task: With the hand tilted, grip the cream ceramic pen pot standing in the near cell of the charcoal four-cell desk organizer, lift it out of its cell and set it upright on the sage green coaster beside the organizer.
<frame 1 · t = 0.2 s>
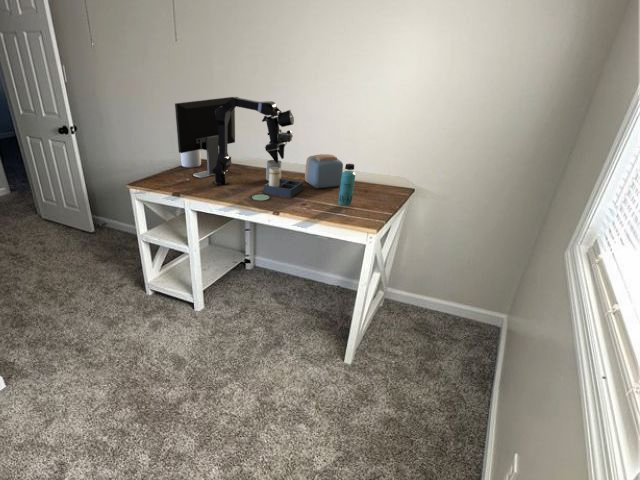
hand: (280, 160, 214), 15 cm above the table, tool pointing down, fingers open, 9 cm apart
computer monitor: (210, 173, 252), on the table
cup: (273, 179, 240), on the table
organizer: (283, 191, 220), on the table
blue rounded cube: (322, 184, 231), on the table
pen pot: (273, 191, 219), resting on organizer
coaster: (260, 198, 212), on the table
cylinder vase: (191, 165, 267), on the table
beverage bottle: (344, 206, 201), on the table
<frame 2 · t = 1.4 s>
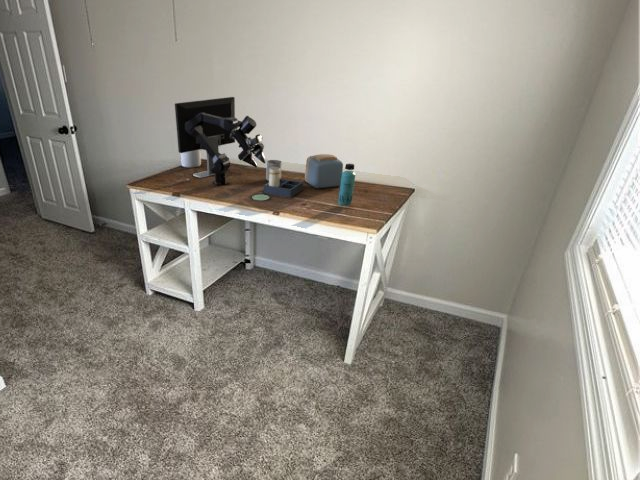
hand: (261, 164, 216), 13 cm above the table, tool tilted 45°, fingers open, 9 cm apart
nothing on the table moved.
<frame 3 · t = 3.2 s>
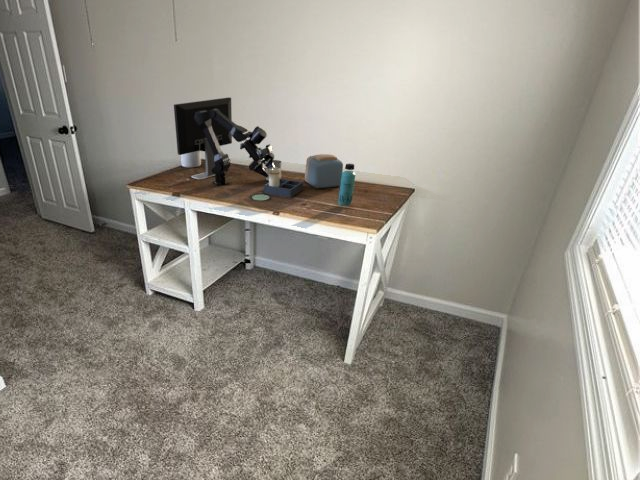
hand: (271, 174, 215), 9 cm above the table, tool tilted 45°, fingers open, 9 cm apart
computer monitor: (208, 174, 249), on the table
everything else where it was.
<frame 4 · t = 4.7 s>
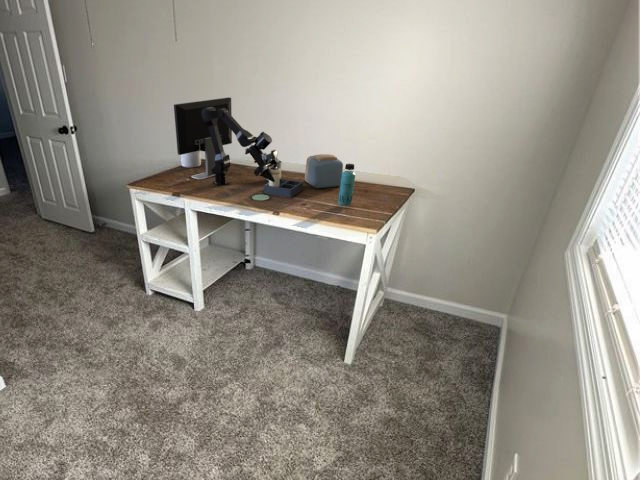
hand: (276, 180, 215), 7 cm above the table, tool tilted 45°, fingers closed on pen pot, 5 cm apart
pen pot: (273, 191, 219), resting on organizer, touching gripper
everything else where it was.
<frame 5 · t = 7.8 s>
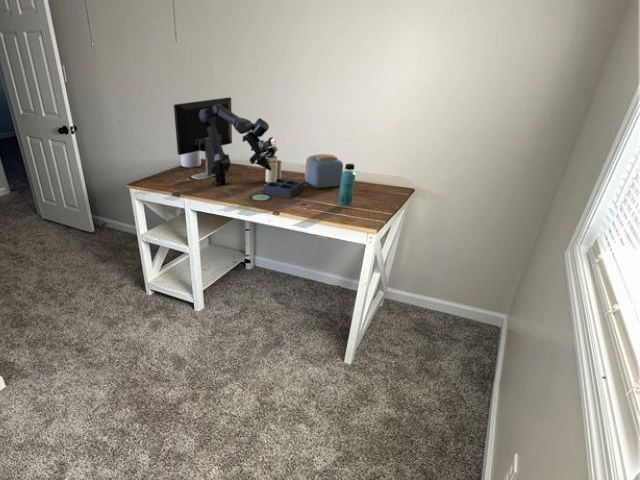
hand: (273, 168, 209), 13 cm above the table, tool tilted 45°, fingers closed on pen pot, 5 cm apart
pen pot: (270, 180, 213), point 7 cm above the table, touching gripper
everything else where it was.
when the fingers open (7 cm above the table, at t = 11.4 s): pen pot stays where it is, resting on coaster.
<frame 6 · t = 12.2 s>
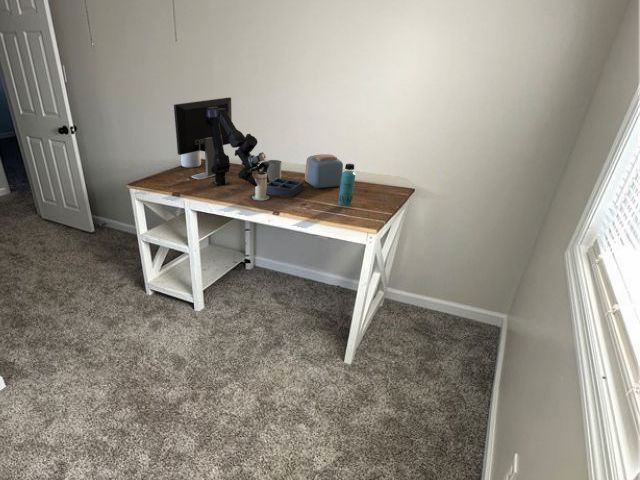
hand: (262, 184, 207), 7 cm above the table, tool tilted 45°, fingers open, 9 cm apart
pen pot: (260, 197, 212), resting on coaster
everything else where it was.
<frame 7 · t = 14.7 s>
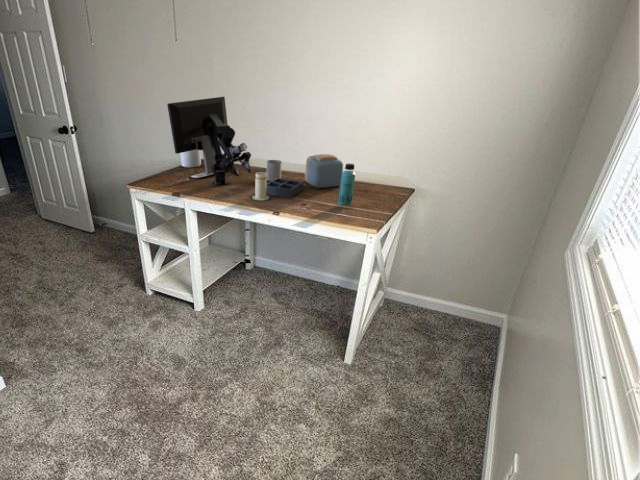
hand: (244, 174, 212), 11 cm above the table, tool tilted 45°, fingers open, 9 cm apart
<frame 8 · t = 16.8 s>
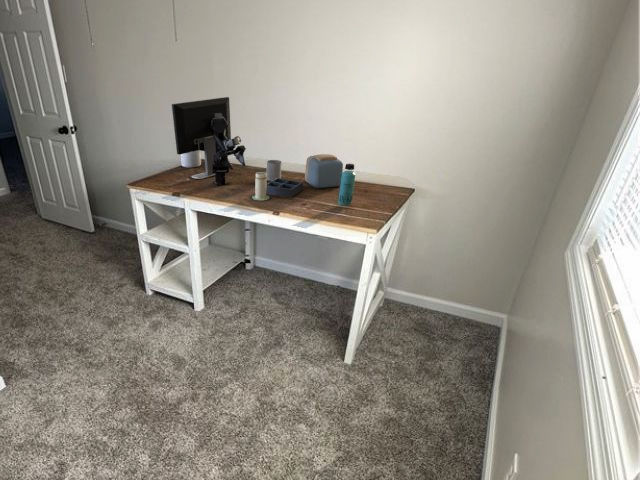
hand: (238, 167, 211), 14 cm above the table, tool tilted 45°, fingers open, 9 cm apart
computer monitor: (208, 174, 249), on the table, touching arm
everything else where it was.
at the end: pen pot 0.0 cm off-centre on the coaster, point 0.4 cm above the coaster's base; pen pot tilted 0°; the gripper is holding nothing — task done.
